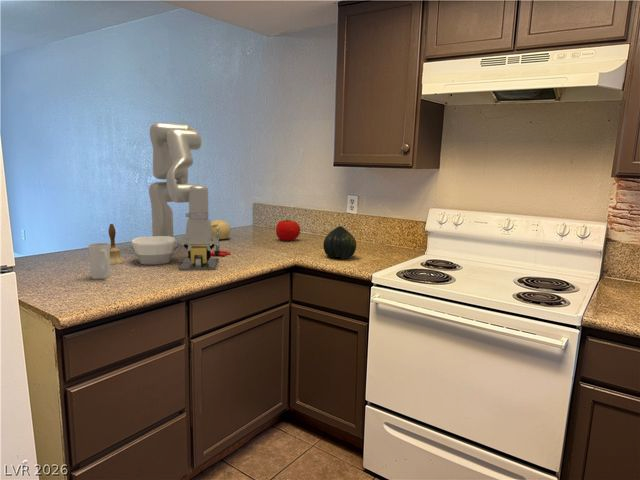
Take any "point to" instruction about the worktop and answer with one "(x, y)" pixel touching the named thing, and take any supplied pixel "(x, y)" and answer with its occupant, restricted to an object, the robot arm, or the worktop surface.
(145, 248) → the bowl
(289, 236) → the tomato
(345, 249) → the squash
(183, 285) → the worktop surface
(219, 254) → the tow hook
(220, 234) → the sculpture
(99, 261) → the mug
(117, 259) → the hand bell
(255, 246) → the worktop surface
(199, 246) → the notched yellow block
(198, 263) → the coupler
